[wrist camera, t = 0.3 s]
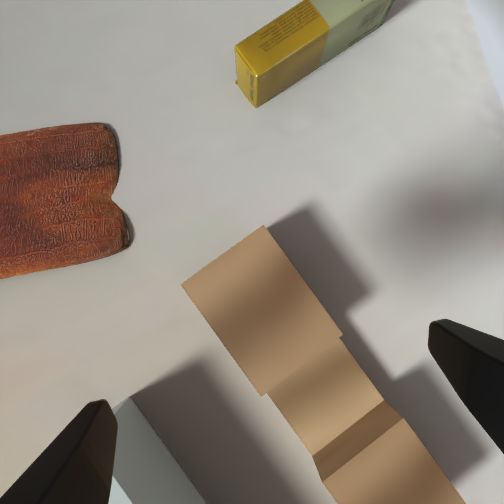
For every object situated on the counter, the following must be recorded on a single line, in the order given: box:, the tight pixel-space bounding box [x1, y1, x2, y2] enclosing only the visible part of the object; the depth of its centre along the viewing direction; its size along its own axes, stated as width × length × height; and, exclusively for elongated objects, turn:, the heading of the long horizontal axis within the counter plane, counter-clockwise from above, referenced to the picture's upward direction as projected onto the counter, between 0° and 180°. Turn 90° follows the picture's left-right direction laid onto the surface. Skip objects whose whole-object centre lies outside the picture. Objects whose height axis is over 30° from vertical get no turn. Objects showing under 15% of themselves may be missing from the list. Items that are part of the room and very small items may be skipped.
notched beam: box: [180, 225, 466, 504], centre depth 20 cm, size 22×6×4 cm, turn 36°
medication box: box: [234, 0, 394, 108], centre depth 22 cm, size 12×3×4 cm, turn 125°
